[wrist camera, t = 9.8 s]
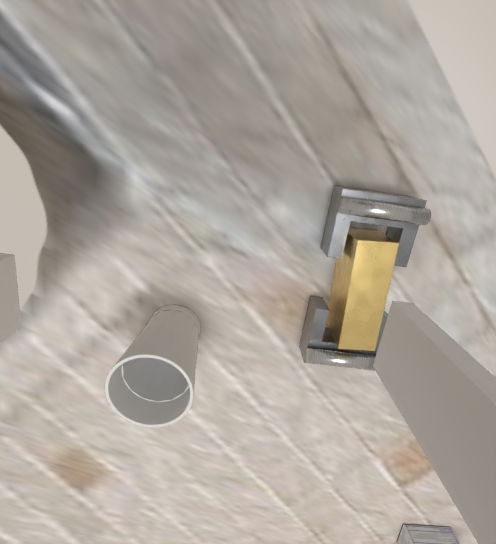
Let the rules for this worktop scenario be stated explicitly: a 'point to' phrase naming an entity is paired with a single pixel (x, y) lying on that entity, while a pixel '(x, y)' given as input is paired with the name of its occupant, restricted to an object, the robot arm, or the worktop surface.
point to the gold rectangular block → (361, 289)
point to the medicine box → (426, 535)
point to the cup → (157, 370)
